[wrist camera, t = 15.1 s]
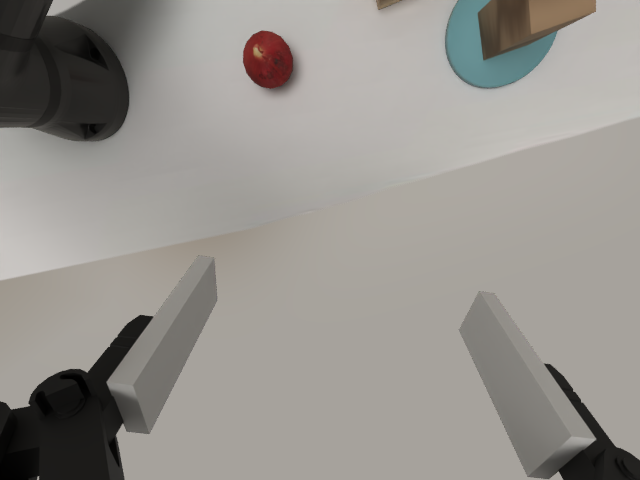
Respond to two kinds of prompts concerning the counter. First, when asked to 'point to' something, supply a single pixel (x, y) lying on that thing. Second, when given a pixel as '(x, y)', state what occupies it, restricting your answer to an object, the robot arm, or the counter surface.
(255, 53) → the onion
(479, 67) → the teal flattened ellipsoid
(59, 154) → the counter surface
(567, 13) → the block
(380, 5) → the ledge
